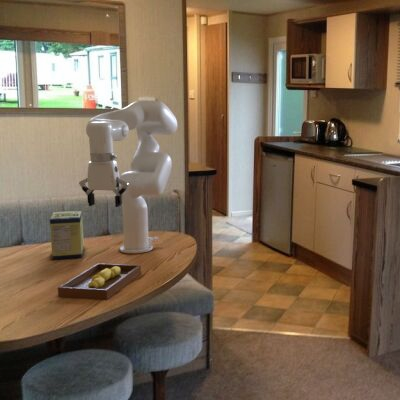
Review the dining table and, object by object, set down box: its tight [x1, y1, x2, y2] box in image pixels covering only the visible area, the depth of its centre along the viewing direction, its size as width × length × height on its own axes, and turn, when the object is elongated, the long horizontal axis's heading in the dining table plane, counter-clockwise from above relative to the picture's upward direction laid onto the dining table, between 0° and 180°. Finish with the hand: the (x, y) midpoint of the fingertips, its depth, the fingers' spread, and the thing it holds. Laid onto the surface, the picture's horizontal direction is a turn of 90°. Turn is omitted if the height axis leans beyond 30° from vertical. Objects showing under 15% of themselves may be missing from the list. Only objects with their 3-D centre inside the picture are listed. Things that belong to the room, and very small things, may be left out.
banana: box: [88, 266, 121, 289], centre depth 183 cm, size 20×4×4 cm, turn 175°
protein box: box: [49, 209, 85, 261], centre depth 216 cm, size 10×16×16 cm
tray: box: [57, 262, 142, 300], centre depth 183 cm, size 26×16×3 cm, turn 175°
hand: (105, 205), depth 198 cm, fingers open, 9 cm apart
